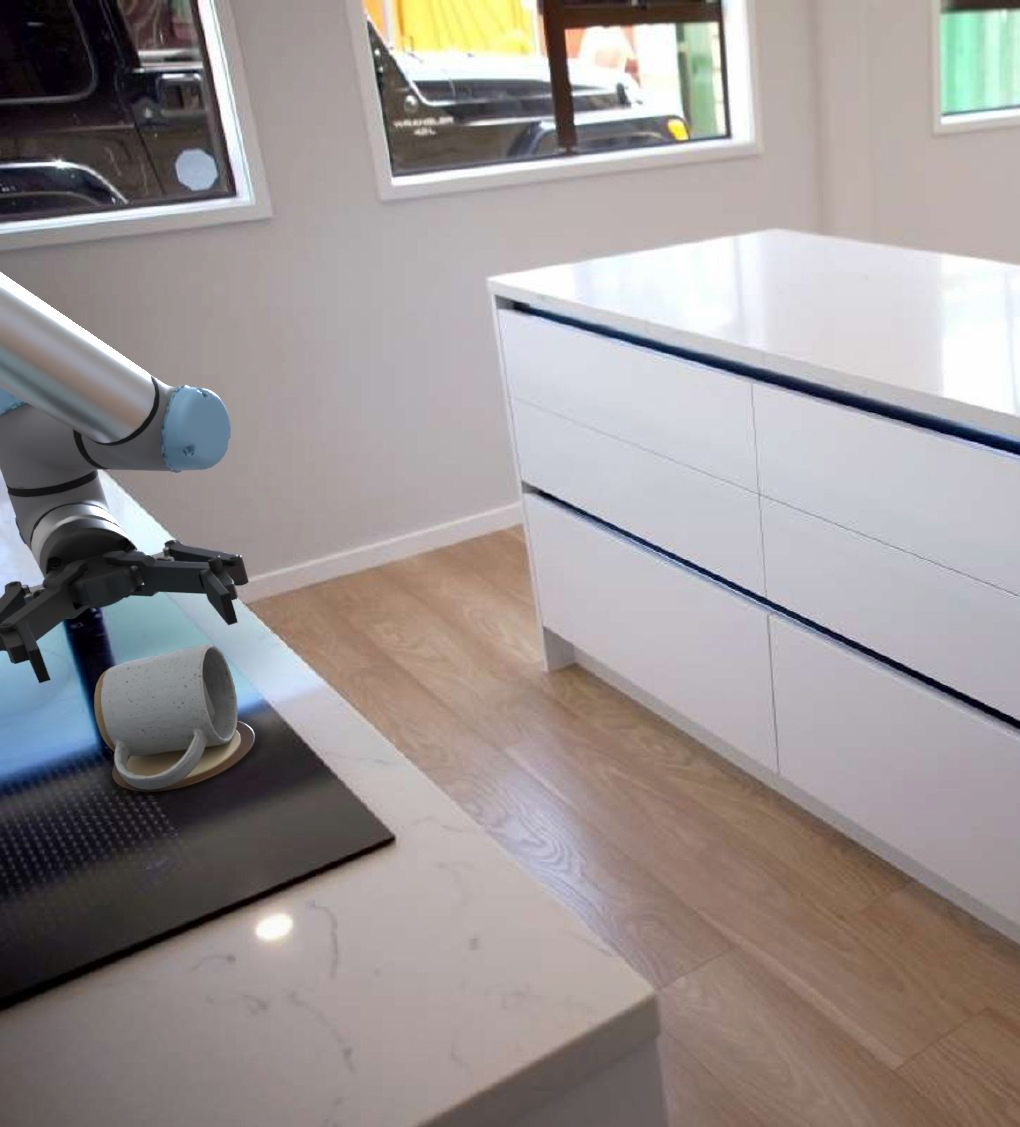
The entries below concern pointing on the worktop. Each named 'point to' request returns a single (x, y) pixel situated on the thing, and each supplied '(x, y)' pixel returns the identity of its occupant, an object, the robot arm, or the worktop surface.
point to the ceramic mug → (166, 710)
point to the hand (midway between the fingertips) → (137, 636)
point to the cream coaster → (207, 767)
